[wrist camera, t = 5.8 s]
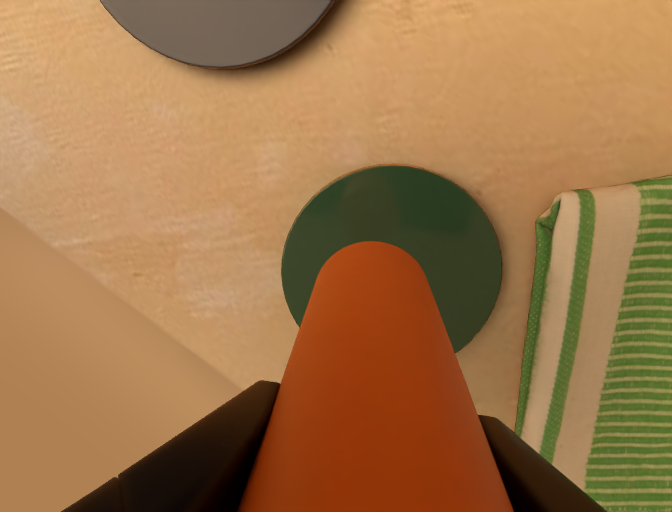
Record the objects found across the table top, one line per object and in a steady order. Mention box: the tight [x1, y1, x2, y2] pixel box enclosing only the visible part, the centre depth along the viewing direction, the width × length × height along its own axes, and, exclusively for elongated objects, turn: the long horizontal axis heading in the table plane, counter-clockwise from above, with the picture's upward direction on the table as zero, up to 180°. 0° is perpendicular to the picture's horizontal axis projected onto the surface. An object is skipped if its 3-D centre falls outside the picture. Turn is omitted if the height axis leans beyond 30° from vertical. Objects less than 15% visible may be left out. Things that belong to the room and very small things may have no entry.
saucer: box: [281, 164, 502, 353], centre depth 21 cm, size 10×10×1 cm
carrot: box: [237, 241, 514, 512], centre depth 8 cm, size 4×4×12 cm
